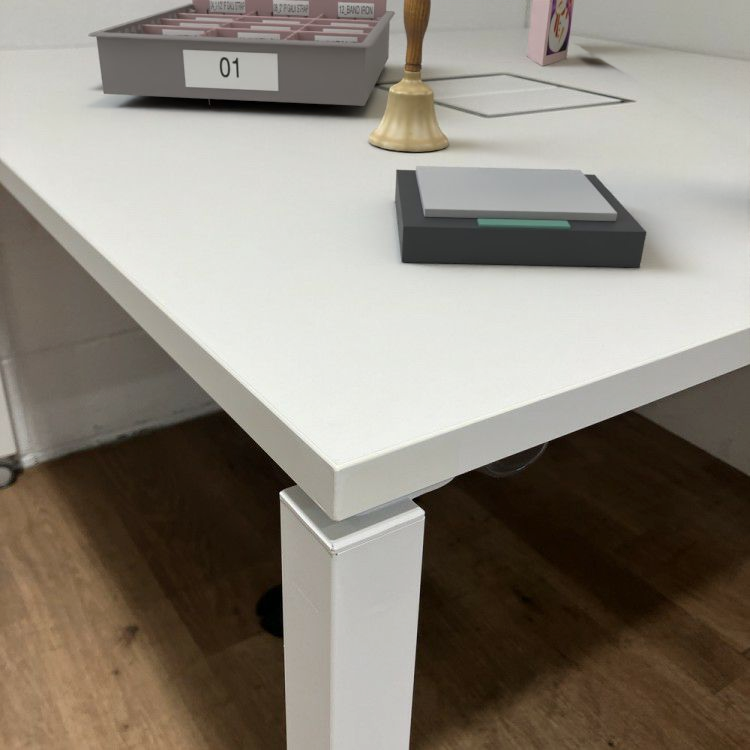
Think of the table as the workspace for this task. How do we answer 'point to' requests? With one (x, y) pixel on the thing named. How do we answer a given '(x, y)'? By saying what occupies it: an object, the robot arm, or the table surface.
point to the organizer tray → (250, 51)
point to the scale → (513, 218)
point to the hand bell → (411, 95)
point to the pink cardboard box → (549, 30)
